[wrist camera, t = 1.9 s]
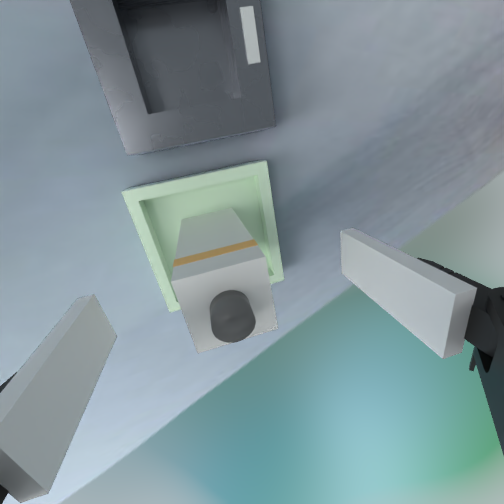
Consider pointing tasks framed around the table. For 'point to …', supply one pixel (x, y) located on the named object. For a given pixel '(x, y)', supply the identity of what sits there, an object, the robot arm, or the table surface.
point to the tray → (201, 202)
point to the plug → (221, 281)
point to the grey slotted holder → (179, 69)
